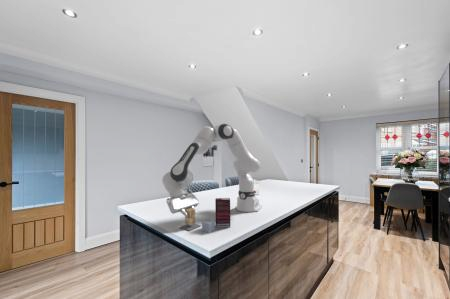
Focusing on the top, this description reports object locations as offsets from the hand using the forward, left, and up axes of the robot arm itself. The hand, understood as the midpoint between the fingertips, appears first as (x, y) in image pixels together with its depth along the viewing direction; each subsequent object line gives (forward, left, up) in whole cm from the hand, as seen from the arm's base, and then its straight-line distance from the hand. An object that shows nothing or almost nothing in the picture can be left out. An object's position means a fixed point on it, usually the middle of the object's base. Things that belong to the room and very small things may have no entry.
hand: (190, 215), depth 116 cm
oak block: (0, -1, -5) cm, 5 cm away
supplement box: (-12, +14, -7) cm, 20 cm away
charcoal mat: (0, -1, -7) cm, 7 cm away
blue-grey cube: (-2, +11, -7) cm, 13 cm away
